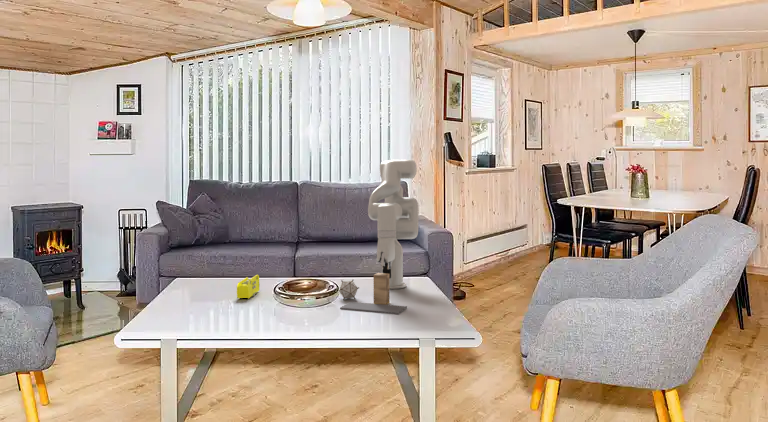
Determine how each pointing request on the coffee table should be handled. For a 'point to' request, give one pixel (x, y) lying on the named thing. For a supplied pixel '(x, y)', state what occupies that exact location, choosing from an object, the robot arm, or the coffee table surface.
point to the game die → (348, 289)
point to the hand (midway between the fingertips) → (386, 278)
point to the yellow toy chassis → (248, 287)
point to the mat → (374, 307)
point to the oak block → (381, 288)
